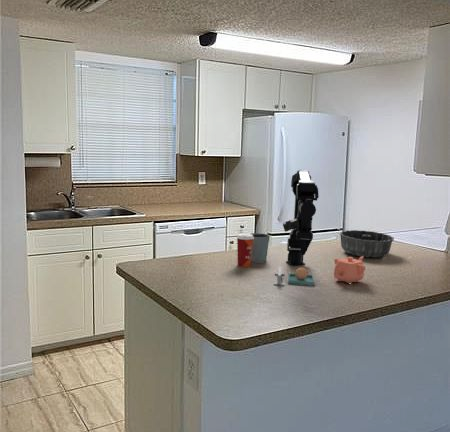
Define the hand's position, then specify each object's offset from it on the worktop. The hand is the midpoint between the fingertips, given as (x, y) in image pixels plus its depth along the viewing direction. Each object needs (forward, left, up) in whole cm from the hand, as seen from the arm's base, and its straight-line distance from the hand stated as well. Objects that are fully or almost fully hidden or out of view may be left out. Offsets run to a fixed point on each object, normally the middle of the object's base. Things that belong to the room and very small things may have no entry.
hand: (302, 252), depth 190 cm
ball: (0, 0, -11) cm, 11 cm away
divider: (+7, -5, -12) cm, 15 cm away
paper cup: (+9, -29, -12) cm, 33 cm away
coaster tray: (0, 0, -12) cm, 12 cm away
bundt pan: (-61, -25, -12) cm, 67 cm away
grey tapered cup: (-2, -35, -12) cm, 37 cm away
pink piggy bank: (-18, +8, -12) cm, 23 cm away
